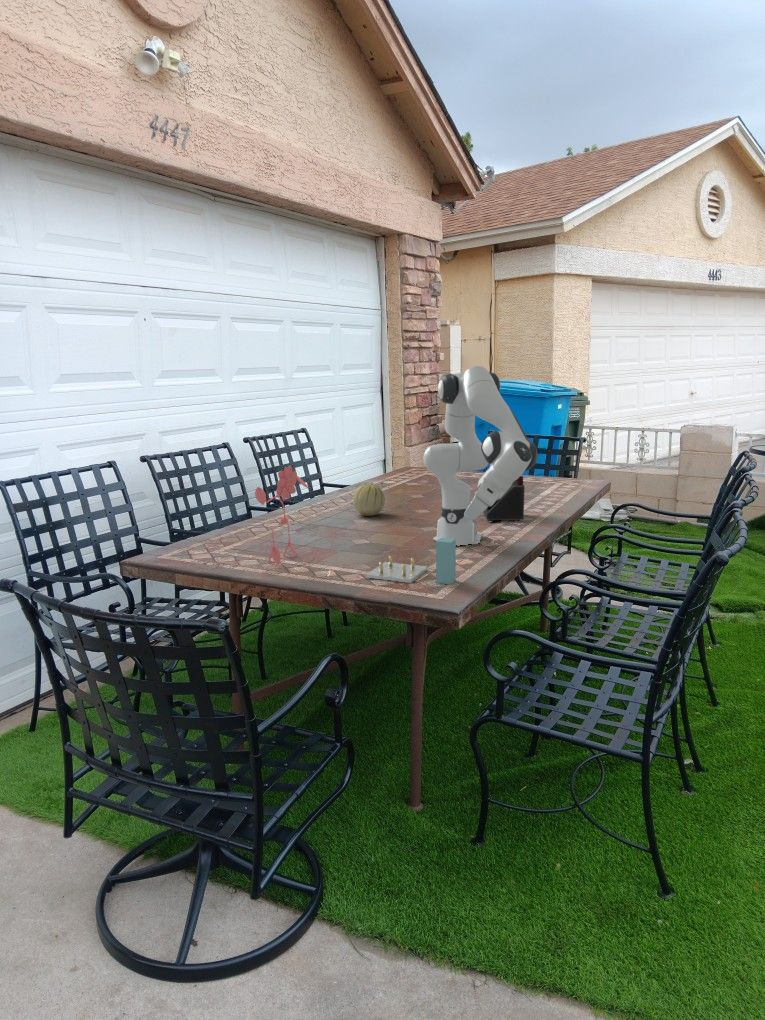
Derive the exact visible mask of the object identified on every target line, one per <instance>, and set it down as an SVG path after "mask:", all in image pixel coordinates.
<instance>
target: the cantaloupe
mask: <svg viewBox="0 0 765 1020" xmlns="http://www.w3.org/2000/svg"><path fill="white" fill-rule="evenodd" d="M385 502H386V496H385V493H384V492H383V490H382V489H381V488H380V487H379V486H377V485H375V484H374V483H373V482H370V483H366V484H365V483H364V484H362V485H360V486H358V487H357V489H356V490H355V492H354V494H353V496H352V504H353V507H354V509H355V511H356V512H358V514H360V515H362V516H365V517H371V516H375V515H378V514H379V513H381V511H383V509H384V506H385Z"/></svg>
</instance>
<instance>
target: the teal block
mask: <svg viewBox="0 0 765 1020" xmlns="http://www.w3.org/2000/svg"><path fill="white" fill-rule="evenodd" d="M435 547H436V548H435V583H437V584H445V585H452V584H453V583H454V582H455V581H456V569H457V568H456V563H457V562H456V560H457V559H456V557H457V556H456V554H457V551H456V550H457V549H456V547H457V546H456V539H452V538H440V539H438V540H437V541H435Z"/></svg>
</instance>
